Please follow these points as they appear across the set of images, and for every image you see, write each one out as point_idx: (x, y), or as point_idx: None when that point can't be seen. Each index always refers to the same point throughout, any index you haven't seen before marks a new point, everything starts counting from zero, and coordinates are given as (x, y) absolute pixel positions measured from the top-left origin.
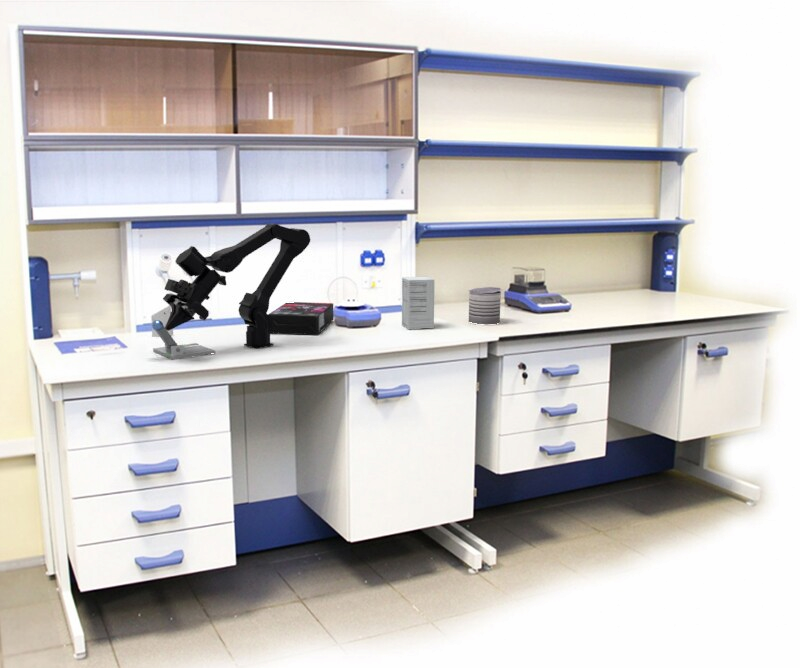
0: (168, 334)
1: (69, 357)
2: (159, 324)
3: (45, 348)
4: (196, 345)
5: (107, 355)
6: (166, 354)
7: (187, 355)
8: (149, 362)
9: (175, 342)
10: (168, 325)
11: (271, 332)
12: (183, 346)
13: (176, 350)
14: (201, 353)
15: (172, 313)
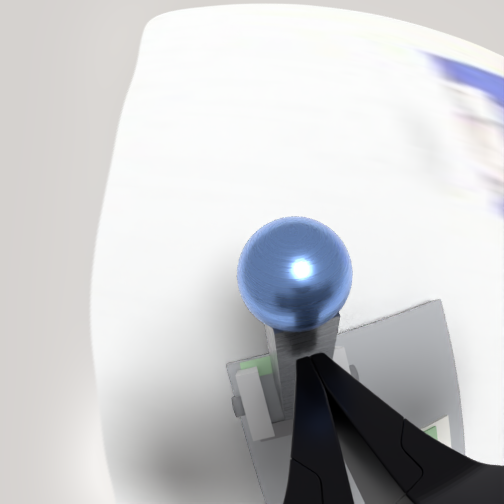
0: (277, 371)
1: (386, 51)
2: (243, 283)
3: (481, 54)
4: None
5: (402, 130)
6: None
7: (247, 442)
8: (212, 251)
9: (283, 407)
10: (295, 386)
11: None
12: None
13: (237, 396)
14: (266, 501)
15: (407, 471)
